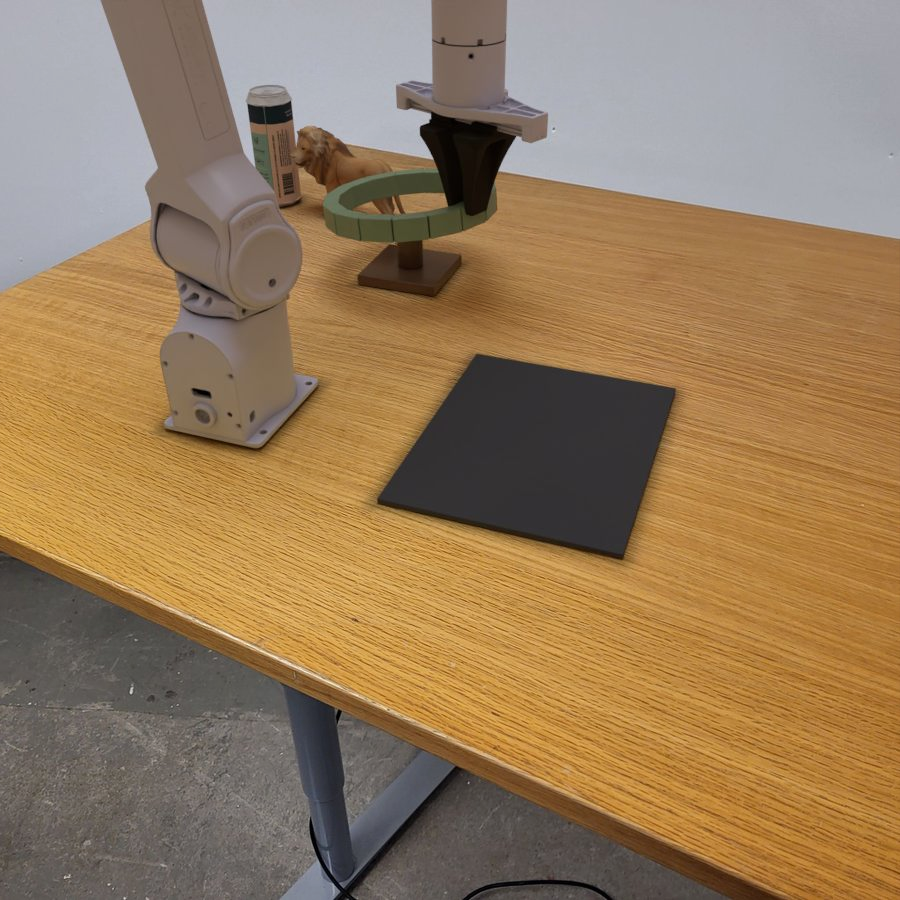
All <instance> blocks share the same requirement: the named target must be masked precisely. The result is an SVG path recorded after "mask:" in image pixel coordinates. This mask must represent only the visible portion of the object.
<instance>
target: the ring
mask: <svg viewBox="0 0 900 900" xmlns="http://www.w3.org/2000/svg"><path fill="white" fill-rule="evenodd" d="M497 193H498V192H497V187H496V183H495V182H494V185H493V188H492V192H491V196H490V199H489V203H488V207H487V210H486V211H484V212H482V213H479V214H477V215H475V216H469V215H466V212H465V208H464V201H462V202H460V203H457V204H455V205H453V206H448V205H447V206H444V207H440V208H435V209H430V210H425V211H419V212H418V211H417V212H405V213H406V214H400V213H398V214H394V215H392V214H382V213H366V212H362V211H356V210H353V209H354V208H357V207H360V206H362V205H365V204H368V203H370V202H372V201H374V200H378V199H383V198H388V197H392V198H393V196H397V195H399V196H404V195H405V196H406V195H418V194H445V193H444V189H443V185H442V182H441V178H440V175H439V172H438V169H437V167H435V168H434V167H433V168H432V167H429V168H428V167H427V168H423V167H422V168H413V169H403V170H393V172H388V173H383V174H378V175H373V176H368V177H365V178H361V179H358V180H355V181H352V182H349V183H346V184H343V185H341V186H339V187H337V188H336V189H334V190H333V191H331V192H330V193H328V194H327V193H326V194H325V195H324V198H323V202H322V211H323V217H324V223H325V228H327V229H328V231H331V232H332V233H333V234H334V235H335V236H337V237H341V238H344V239H349V240H352V241H353V240H354V241H358V242H363V243H389V244H393V243H395V244H397V242H408V241H418V240H423V241H429V240H434V239H438V238H441V237H447V236H450V235H456V234H459V233H462V232H466V231H469V230H470V229H473V228H475V227H478V226H479V225H482V224H484V223H487V222H488V221H489V220H490V219H491V218H492V217H493V215H494V214H496V213H497V212H498V197H497V196H498V194H497Z"/></svg>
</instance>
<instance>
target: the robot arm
mask: <svg viewBox="0 0 900 900" xmlns="http://www.w3.org/2000/svg"><path fill="white" fill-rule="evenodd" d="M100 3H101V6H102V9H103V11H104V14H105V17H106V19H107V20H106V21H107V23H108V26H109V30H110V32H111V34H112V38H113V40H114V44H115V47H116V50H117V52H118V56H119V58H120V61H121V65H122V67H123V70H124V73H125V76H126V78H127V82H128V84H129V88H130V90H131V94H132V96H133V98H134V102H135V105H136V108H137V110H138V114H139V116H140V120H141V123H142V125H143V128H144V131H145V134H146V137H147V140H148V142H149V145H150V148H151V151H152V154H153V157H154V159H155V160H154V161H155V163H156V166H157V168H156V170H155V171H154V172H153V173H152V175H150V177H149V178H148V180H147V181H146V182H145V184H144V189H145V192H146V196H147V197H148V202H149V206H150V222H149V224H150V225H149V240H150V245H151V248H152V250H153V253H154V255H155V256H156V258H157V259H158V260H159V262H160V263H161V264H162V265H163V266H165V267H166V268H168V269H170V270H172V271H173V274H174V279H175V284H176V288H177V290H178V292H177V293H178V296H179V301H180V302H179V312H178V316H177V320H176V321H175V324H174V326H173V327H172V329H171V330H170V332H169V333H168V334H167V335H166V337H164V340H163V341H162V343H161V345H160V349H159V362H160V368H161V373H162V377H163V381H164V386H165V391H166V397H167V400H168V405H169V409H170V415H169V416H168V417H167V418H166V419H165V420H164V421H163V426H164V428H165V429H167V430H170V431H175V432H180V433H183V434H188V435H193V436H197V437H202V438H207V439H212V440H216V441H221V442H225V443H230V444H234V445H239V446H243V447H247V448H251V449H252V448H253V449H259V448H261V447H263V446H264V445H265V444H266V443H267V442H268V441H269V440H270V439H271V438H272V436H273V435H274V434H275V433H276V432H278V430H279V429H280V427H282V425H284V423H286V421H287V420H288V419H289V418H290V417H291V416H292V415H293V414H294V412H295V411H296V410H297V409H298V408H299V407H300V406H301V404H303V402H304V401H305V400H306V399H307V398H308V397H309V396H310V395H311V394H312V393H313V391H314V390H315V389H316V388H317V387H318V386H319V379H318V378H317V377H314V376H309V375H304V374H298V373H296V372H295V371H296V370H295V363H294V356H293V355H294V354H293V346H292V338H291V337H292V336H291V329H290V321H289V312H288V305H287V301H289V300H290V299H291V297H290V296H291V295H290V293H291V292H292V290H293V289H294V287H295V285H296V283H297V281H298V279H299V276H300V274H301V269H302V266H303V246H302V242H301V239H300V236H299V234H298V232H297V230H296V229H295V227H294V226H293V225H292V224H291V223H290V222H288V220H287V219H286V218H285V216H284V215H283V214H282V211H281V209H280V208H281V207H279V205H278V202H277V198H276V194H275V192H274V191H273V189H272V188H271V187H270V185H269V184H268V183H267V181H266V180H265V179H264V178H263V176H262V175H261V174H260V173H259V172H258V170H257V169H256V168H255V165H254V164H253V163H252V162H251V160H250V159H249V158H248V156H247V155H246V154H245V152H244V148H243V144H242V141H241V140H242V139H241V137H240V133H239V129H238V127H237V123H236V119H235V115H234V112H233V109H232V104H231V100H230V98H229V93H228V90H227V86H226V82H225V79H224V75H223V72H222V67H221V63H220V60H219V57H218V53H217V49H216V46H215V42H214V38H213V34H212V31H211V28H210V24H209V21H208V17H207V13H206V9H205V6H204V2H203V0H100ZM430 5H431V6H430V7H431V11H430V12H431V64H432V65H431V68H432V69H431V70H432V73H431V74H432V75H431V76H432V79H431V81H432V83H431V82H423V81H417V80H412V79H411V80H409V81H404V82H400V83H397V84H395V94H396V95H395V98H396V109H399V110H402V111H403V110H404V111H408V110H414V111H418V112H422V113H425V114H430V118H429V119H428V122H427V123H423V124H422V125H420V126H419V136H420V138H421V139H422V141H423V142H424V144H425V146H426V147H427V149H428V151H429V153H430V155H431V157H432V159H433V161H434V164H435V168H437V169H438V172H439V175H440V178H441V182H442V185H443V189H444V193H443V194H444V196H445V200H446V204H447V207H448V206H453V205H455V204H457V203H460V202H462V201H464V208H465V212H466V215H469V216H475V215H477V214H479V213H482V212H484V211H486V210H487V207H488V203H489V199H490V196H491V192H492V188H493V185H494V183H495V181H496V179H497V175H498V173H499V170H500V168H501V165H502V163H503V162H504V159H505V157H506V156H507V154H508V151H509V150H510V148H511V146H512V145H513V143H514V141H515V140H516V138H517V137H519V138H521V141H522V142H525V143H528V144H533V143H536V142H539V141H541V140H544V139H546V138H547V137H548V125H549V112H548V111H545V110H542V109H541V110H540V109H538V108H534V107H533V106H530V105H528V104H526V103H523V102H522V101H519V100H517V99H515V98H513V97H510V96H509V90H508V89H507V88H506V61H507V60H506V57H507V55H506V54H507V27H508V26H507V24H508V0H430Z"/></svg>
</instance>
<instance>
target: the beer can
mask: <svg viewBox="0 0 900 900" xmlns="http://www.w3.org/2000/svg"><path fill="white" fill-rule="evenodd" d="M248 90H249V91H248V94H247V96H246V99H245V103H246V106H247V113H248V114H247V115H248V121H249V128H250V136H251V145H252V151H253V159H254V167H255V168H256V169H257V170H258V172H259V173H260V174H261V175H262V176H263V178H264V179H265V180H266V181H267V183H268V184H269V185H270V187H271V188H272V189H273V191H274V192H275V194H276V198H277V202H278V205H279V208H281V207H288V206H292V205H294V204H296V202H297V201H299V200H300V199H301V198H302V193H301V182H300V173H299V172H300V171H299V168H297V167H296V163H295V161H294V160H292V158H291V156H290V153H291V152H292V151H293V150H294V149H295V148H296V146H297V144H296V143H297V141H296V133H295V124H294V116H293V115H294V114H293V113H294V112H293V104H292V100H293V99H292V96H291V95H290V93H289V91H288V89H287V88H286V86H283V85H279V84H264V85H256V86H253V87H251V88H249V89H248Z"/></svg>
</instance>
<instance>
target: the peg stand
mask: <svg viewBox="0 0 900 900" xmlns="http://www.w3.org/2000/svg"><path fill="white" fill-rule="evenodd" d="M462 260H463V259H462V254H461V253H453V252H449V251H440V250H434V249H426V248H424V240H418V241H408V242H397V243H396V244H393V243H389V244H388V245H387V246H386V247H385V248H384V249H383V250H381V252H379V253H378V255H376V256H375V258H373V259H372V260H371V261H370V262H369V263H368V264H367V265H366V266H365V267H364V268H363V269H362V270H360V272H359V273H358V274H357V275H356V276H357V285H359V286H367V287H373V288H378V289H384V290H392V291H398V292H404V293H410V294H415V295H423V296H429V297H435V296H436V294H437V293H438V292H439V291H440V290H441V289H442V287H443V286H444V285H445V284H446V282H448V281H449V279H450V278H451V277H452V276H453V274H454V273H455V272H456V271H457V270H458V268H460V266H461V265H462Z"/></svg>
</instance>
